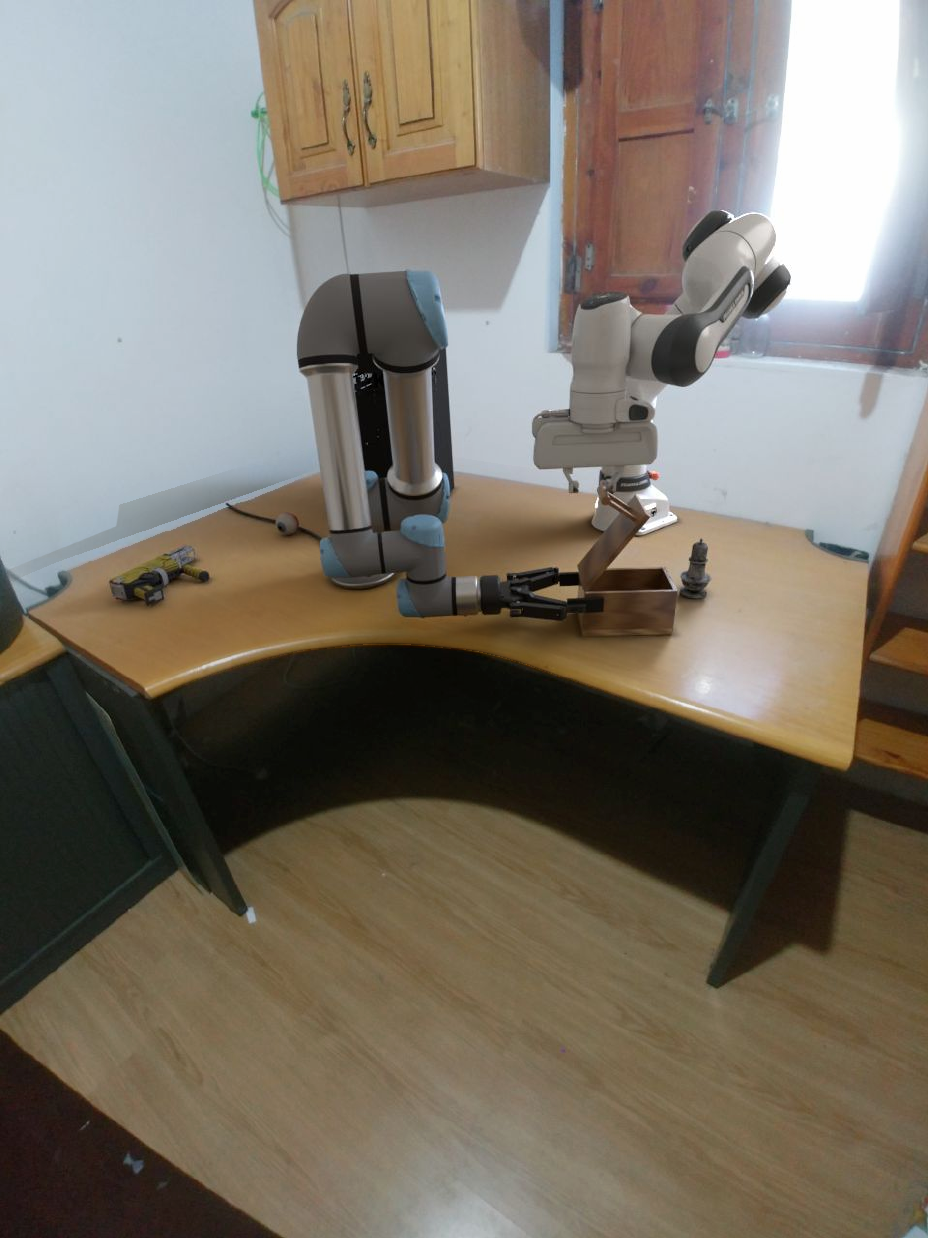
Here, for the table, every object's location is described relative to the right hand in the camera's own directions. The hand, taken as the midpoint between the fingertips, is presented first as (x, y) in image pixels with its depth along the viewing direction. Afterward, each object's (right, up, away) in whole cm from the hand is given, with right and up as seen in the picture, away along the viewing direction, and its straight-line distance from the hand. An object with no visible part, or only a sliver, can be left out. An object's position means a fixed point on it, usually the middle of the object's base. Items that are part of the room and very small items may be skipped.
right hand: (591, 491), depth 104 cm
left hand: (+3, -17, +10) cm, 19 cm away
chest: (+9, -22, +13) cm, 27 cm away
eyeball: (-70, +1, +61) cm, 93 cm away
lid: (+5, -9, +5) cm, 11 cm away
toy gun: (-90, -14, +38) cm, 98 cm away
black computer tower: (-39, +11, +76) cm, 86 cm away
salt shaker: (+25, -17, +21) cm, 37 cm away
